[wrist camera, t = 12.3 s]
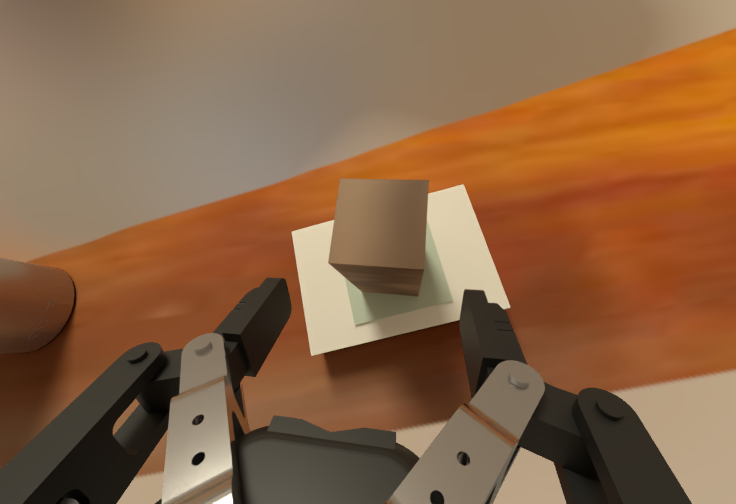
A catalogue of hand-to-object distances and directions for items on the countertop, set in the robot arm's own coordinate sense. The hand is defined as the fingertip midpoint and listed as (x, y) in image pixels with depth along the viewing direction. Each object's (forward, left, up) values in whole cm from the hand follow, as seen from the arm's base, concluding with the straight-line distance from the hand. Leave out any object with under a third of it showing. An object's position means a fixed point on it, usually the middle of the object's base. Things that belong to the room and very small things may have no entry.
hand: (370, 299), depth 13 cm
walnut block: (-1, +4, -10) cm, 11 cm away
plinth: (-1, +4, -13) cm, 14 cm away
